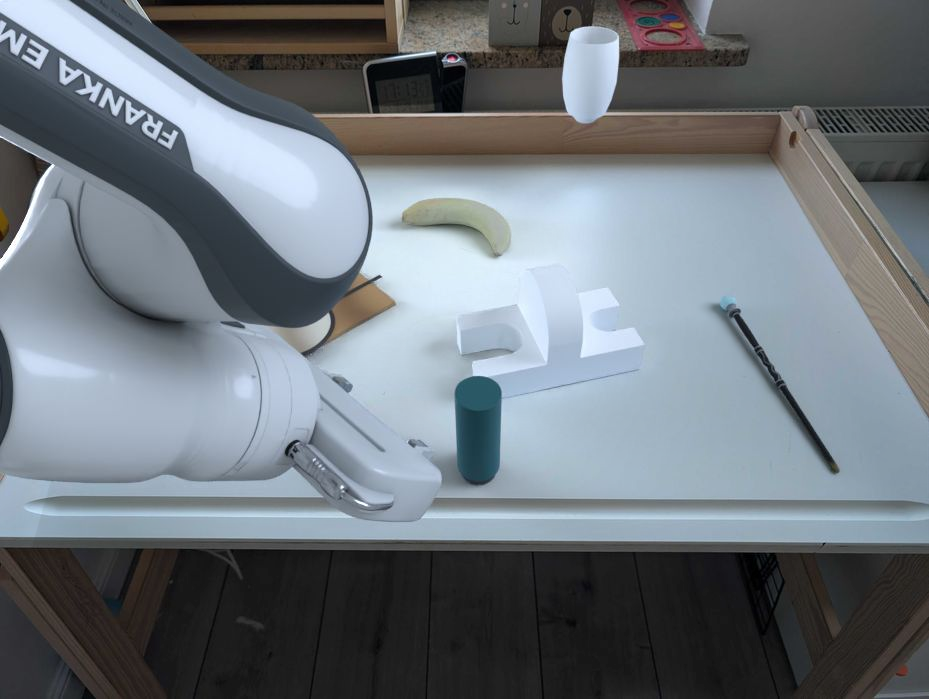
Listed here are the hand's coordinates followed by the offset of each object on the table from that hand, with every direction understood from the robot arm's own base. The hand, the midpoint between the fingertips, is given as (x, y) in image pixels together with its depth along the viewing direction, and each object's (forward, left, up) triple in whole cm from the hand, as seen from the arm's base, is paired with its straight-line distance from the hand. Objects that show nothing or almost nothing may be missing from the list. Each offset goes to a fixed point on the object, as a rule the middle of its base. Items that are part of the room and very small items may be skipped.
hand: (382, 420), depth 56 cm
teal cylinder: (+9, -1, -13) cm, 16 cm away
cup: (+55, +27, -13) cm, 63 cm away
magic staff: (+40, -14, -13) cm, 44 cm away
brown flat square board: (+8, +33, -13) cm, 37 cm away
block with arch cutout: (+25, +5, -13) cm, 29 cm away
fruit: (+33, +29, -13) cm, 46 cm away
